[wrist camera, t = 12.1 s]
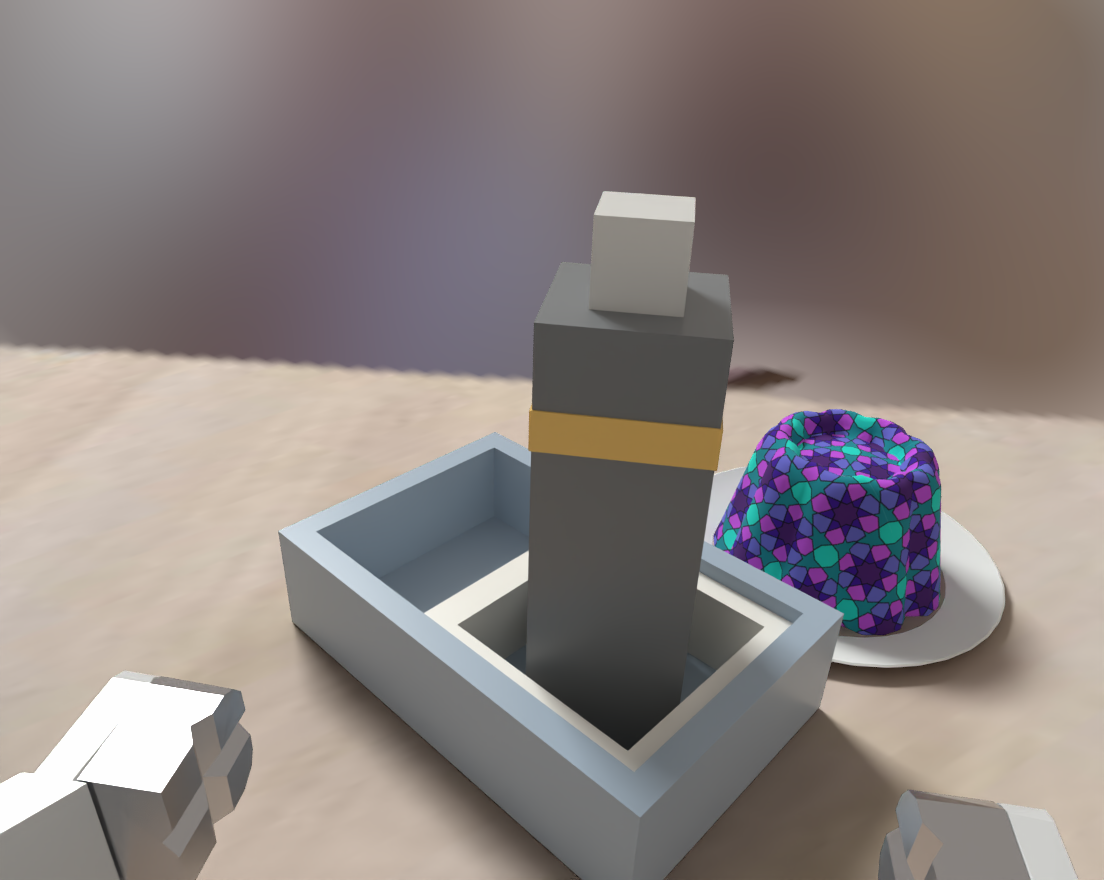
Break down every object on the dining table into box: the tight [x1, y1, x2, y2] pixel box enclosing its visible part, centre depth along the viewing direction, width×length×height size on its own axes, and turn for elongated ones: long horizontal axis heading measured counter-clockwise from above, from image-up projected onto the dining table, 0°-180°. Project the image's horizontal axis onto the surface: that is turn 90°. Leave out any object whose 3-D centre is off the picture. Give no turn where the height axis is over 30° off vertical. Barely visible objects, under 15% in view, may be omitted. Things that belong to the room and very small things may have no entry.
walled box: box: [278, 432, 844, 880], centre depth 26 cm, size 14×9×4 cm, turn 46°
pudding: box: [704, 409, 1005, 668], centre depth 31 cm, size 12×12×5 cm
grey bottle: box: [526, 191, 734, 750], centre depth 21 cm, size 4×4×14 cm
